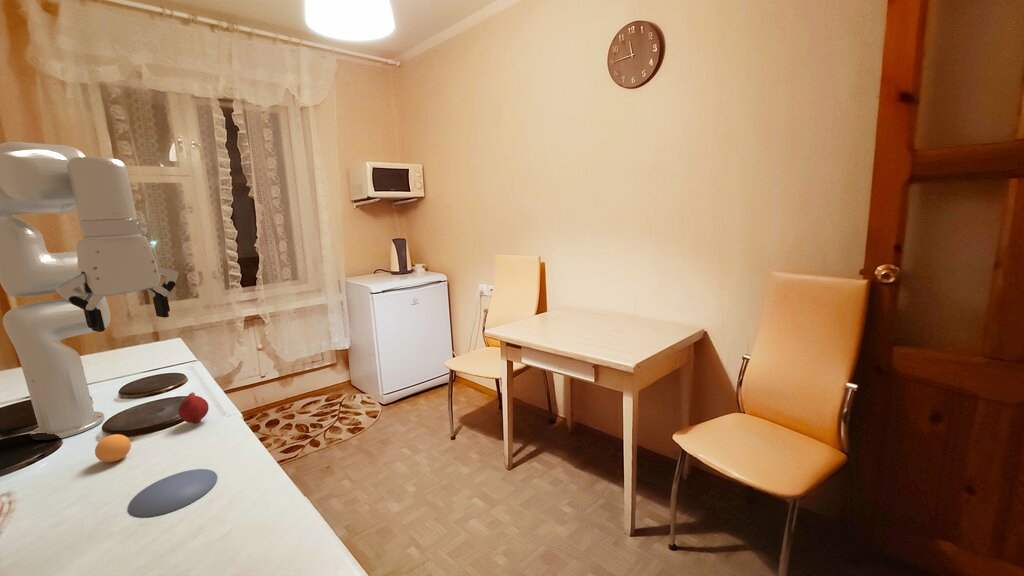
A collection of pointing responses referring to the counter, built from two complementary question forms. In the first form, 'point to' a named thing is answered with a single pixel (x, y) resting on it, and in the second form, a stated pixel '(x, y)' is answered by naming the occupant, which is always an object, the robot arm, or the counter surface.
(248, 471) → the counter surface
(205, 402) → the onion
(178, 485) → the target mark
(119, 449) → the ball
